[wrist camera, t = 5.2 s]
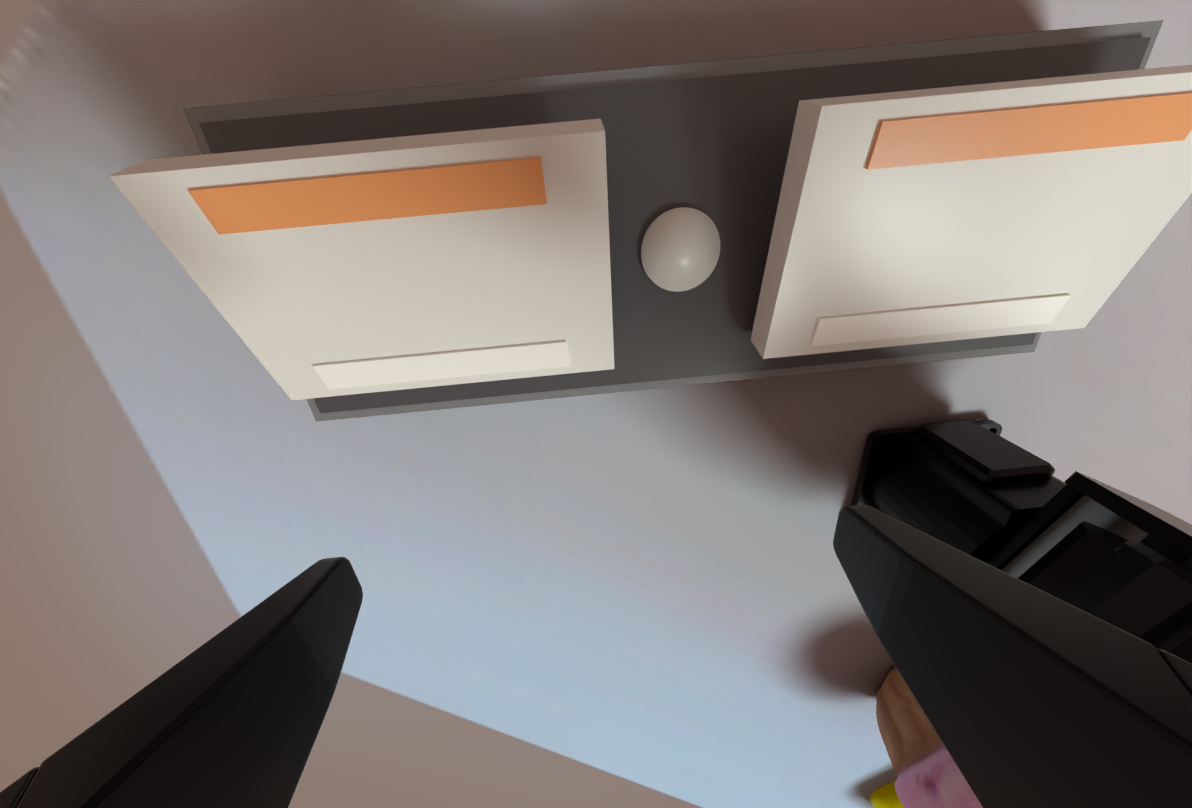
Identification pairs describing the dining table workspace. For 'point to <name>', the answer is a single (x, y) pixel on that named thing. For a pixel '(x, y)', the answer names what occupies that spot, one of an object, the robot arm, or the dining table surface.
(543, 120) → the grey switch panel
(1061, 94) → the rocker
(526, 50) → the dining table surface
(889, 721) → the cupcake
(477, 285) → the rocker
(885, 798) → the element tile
